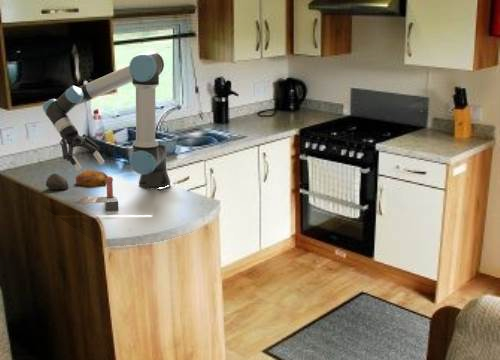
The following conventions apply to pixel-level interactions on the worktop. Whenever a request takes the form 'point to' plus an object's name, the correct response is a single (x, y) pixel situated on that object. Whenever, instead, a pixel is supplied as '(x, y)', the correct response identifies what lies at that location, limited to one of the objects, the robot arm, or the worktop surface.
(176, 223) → the worktop surface
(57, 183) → the stone
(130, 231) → the worktop surface
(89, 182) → the croissant
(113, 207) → the die
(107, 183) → the pawn
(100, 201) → the track
